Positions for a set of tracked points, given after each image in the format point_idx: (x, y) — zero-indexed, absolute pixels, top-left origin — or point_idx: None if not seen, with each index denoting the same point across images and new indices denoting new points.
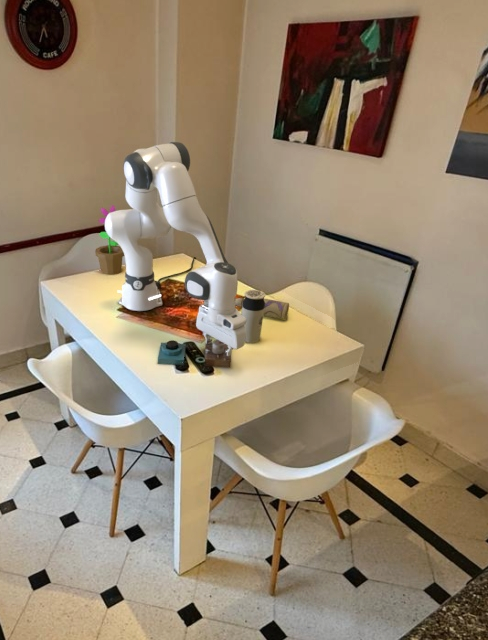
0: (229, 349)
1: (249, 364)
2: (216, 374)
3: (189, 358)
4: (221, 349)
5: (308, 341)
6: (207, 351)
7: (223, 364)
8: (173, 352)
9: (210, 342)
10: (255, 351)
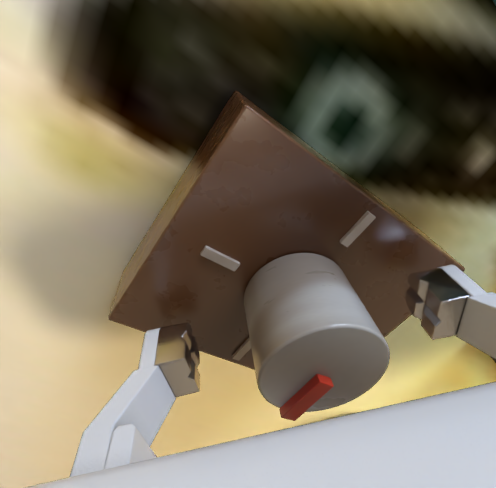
0: (107, 413)
1: (123, 372)
2: (55, 120)
3: (435, 34)
4: (249, 333)
5: None
6: (352, 217)
7: (144, 245)
8: None
9: (421, 304)
10: (230, 428)
